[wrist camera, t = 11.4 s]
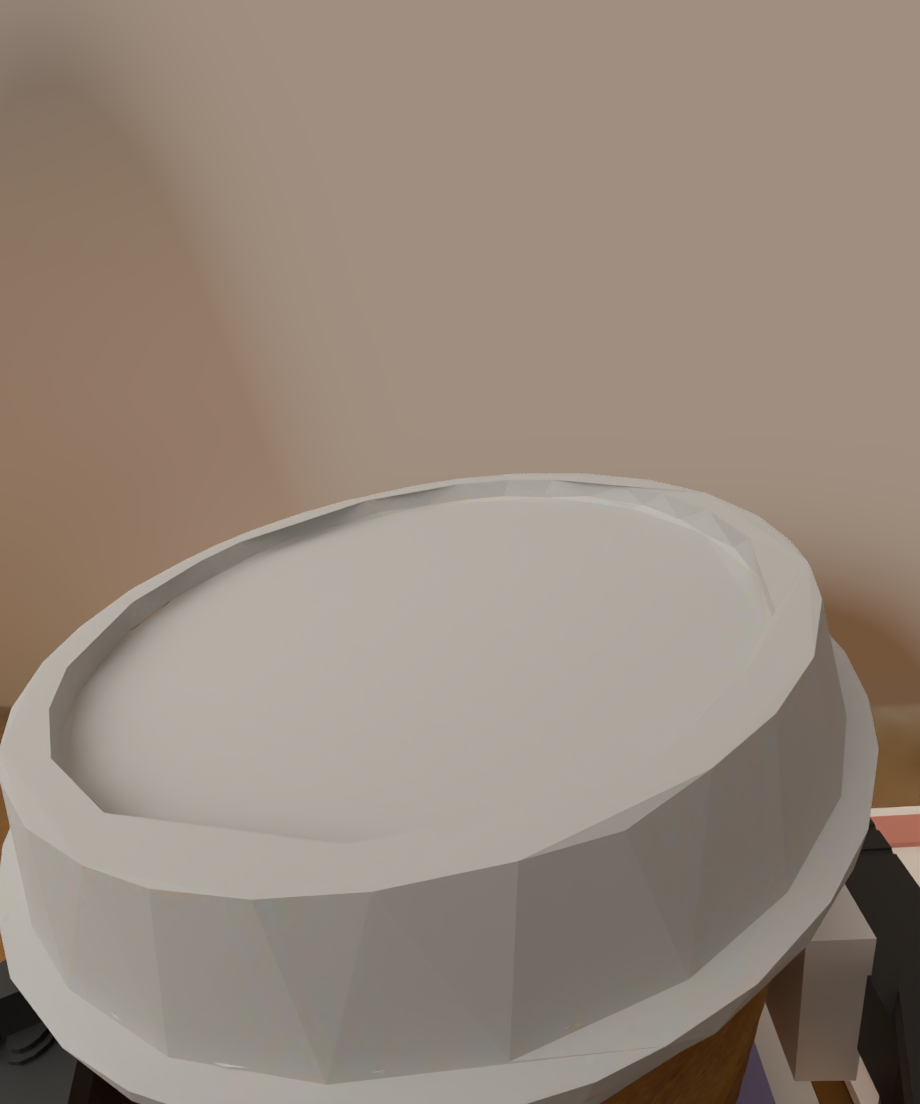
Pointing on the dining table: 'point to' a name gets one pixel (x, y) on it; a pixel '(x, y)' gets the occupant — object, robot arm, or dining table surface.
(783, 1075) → the ink pad
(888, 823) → the marked board
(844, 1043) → the robot arm
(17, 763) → the disposable coffee cup
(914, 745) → the dining table surface
